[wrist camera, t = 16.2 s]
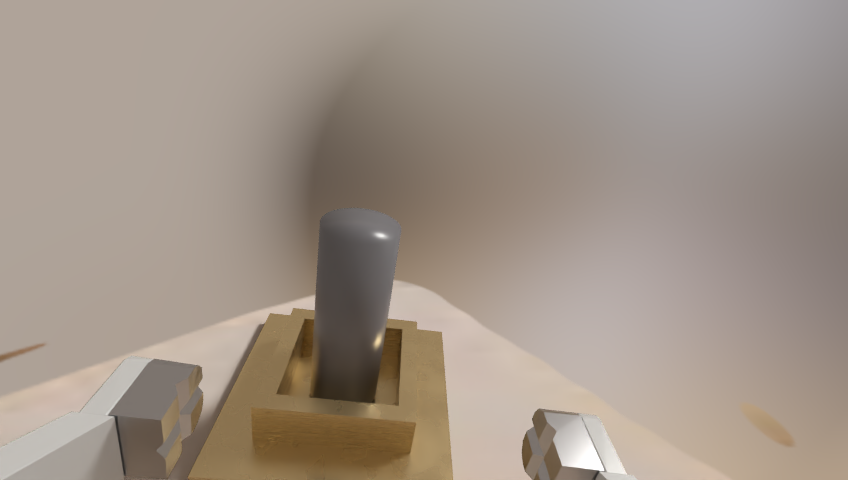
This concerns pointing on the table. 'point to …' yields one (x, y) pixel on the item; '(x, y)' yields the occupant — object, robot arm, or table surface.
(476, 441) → the table surface
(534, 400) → the table surface
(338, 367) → the grey cylinder
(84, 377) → the table surface
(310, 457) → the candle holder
